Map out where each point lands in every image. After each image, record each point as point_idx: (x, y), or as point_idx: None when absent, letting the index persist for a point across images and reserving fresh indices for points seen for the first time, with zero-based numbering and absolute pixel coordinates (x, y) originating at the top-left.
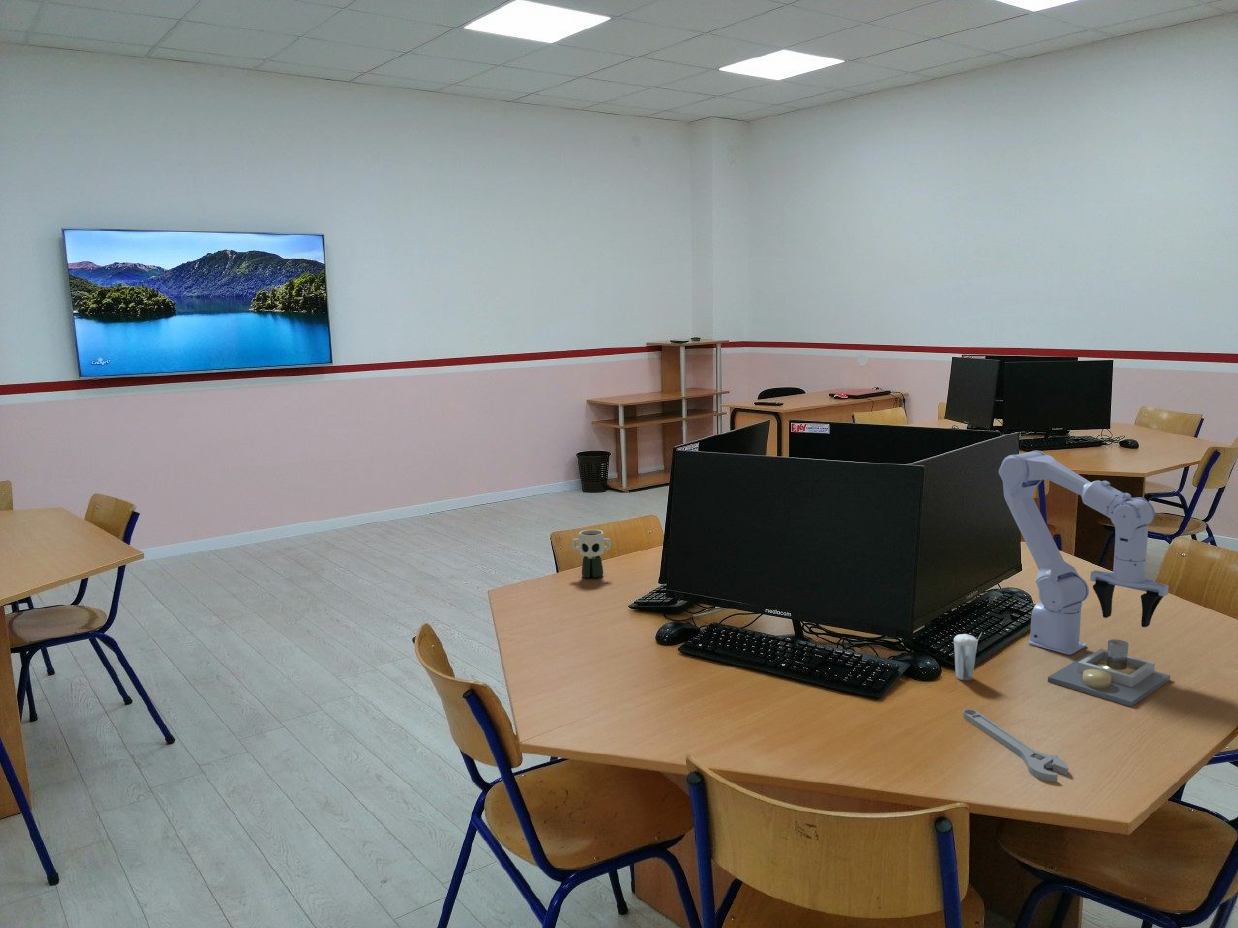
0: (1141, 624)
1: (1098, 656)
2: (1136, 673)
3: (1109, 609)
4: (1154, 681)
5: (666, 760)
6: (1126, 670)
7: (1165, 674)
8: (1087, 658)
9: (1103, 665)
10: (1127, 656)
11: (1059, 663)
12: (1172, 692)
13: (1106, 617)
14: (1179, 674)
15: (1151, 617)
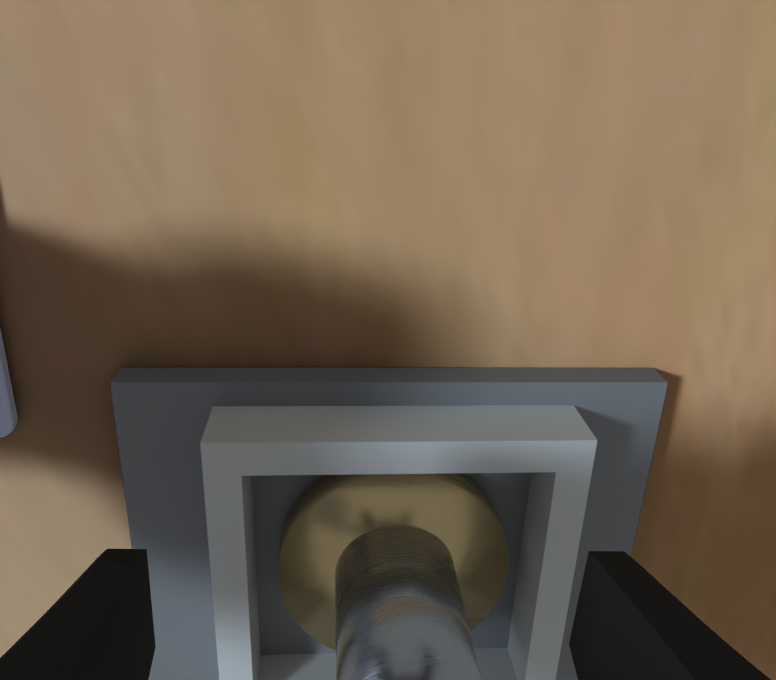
0: (578, 675)
1: (247, 541)
2: (550, 660)
3: (116, 660)
4: (609, 531)
5: None
6: (466, 591)
7: (639, 389)
8: (231, 651)
9: (331, 614)
10: (466, 618)
11: (61, 570)
12: (695, 520)
13: (154, 649)
14: (686, 233)
15: (689, 614)
